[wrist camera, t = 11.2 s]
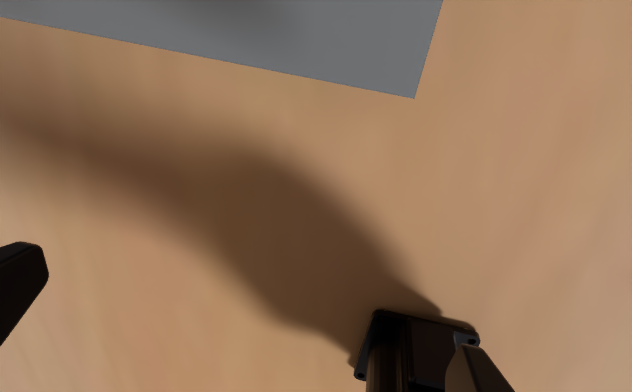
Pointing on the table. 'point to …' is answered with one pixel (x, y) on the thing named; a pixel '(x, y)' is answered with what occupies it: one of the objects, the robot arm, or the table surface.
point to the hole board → (265, 33)
